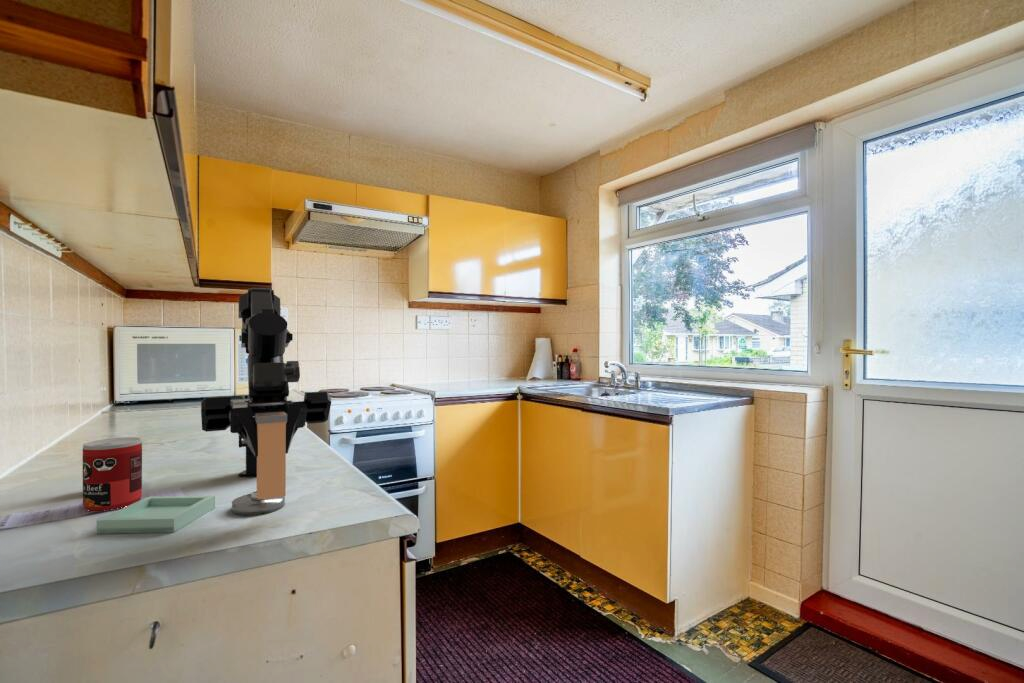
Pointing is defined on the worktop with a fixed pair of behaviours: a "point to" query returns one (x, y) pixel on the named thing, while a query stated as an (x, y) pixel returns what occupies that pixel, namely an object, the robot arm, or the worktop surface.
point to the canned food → (112, 473)
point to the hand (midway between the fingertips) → (271, 453)
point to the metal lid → (256, 505)
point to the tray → (156, 515)
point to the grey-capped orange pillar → (271, 454)
